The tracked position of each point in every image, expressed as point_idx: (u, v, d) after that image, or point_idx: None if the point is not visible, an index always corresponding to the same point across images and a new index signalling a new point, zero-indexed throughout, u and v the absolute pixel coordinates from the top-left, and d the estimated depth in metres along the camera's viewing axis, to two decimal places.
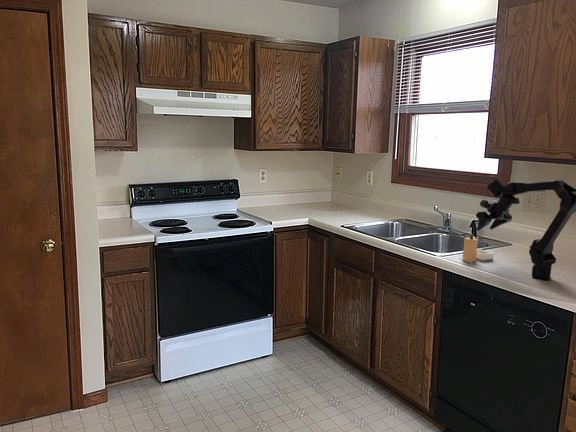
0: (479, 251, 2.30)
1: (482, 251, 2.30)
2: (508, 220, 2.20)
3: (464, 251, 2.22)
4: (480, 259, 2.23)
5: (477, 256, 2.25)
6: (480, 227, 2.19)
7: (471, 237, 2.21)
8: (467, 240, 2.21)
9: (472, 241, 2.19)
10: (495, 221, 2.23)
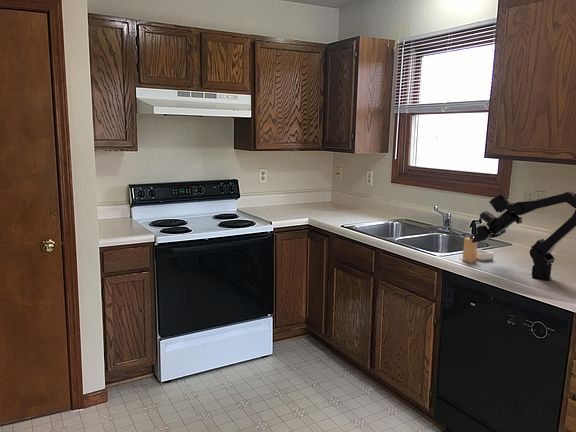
0: (479, 251, 2.30)
1: (482, 251, 2.30)
2: (502, 234, 2.18)
3: (464, 251, 2.22)
4: (480, 259, 2.23)
5: (477, 256, 2.25)
6: (477, 240, 2.14)
7: (471, 237, 2.21)
8: (467, 240, 2.21)
9: None
10: None
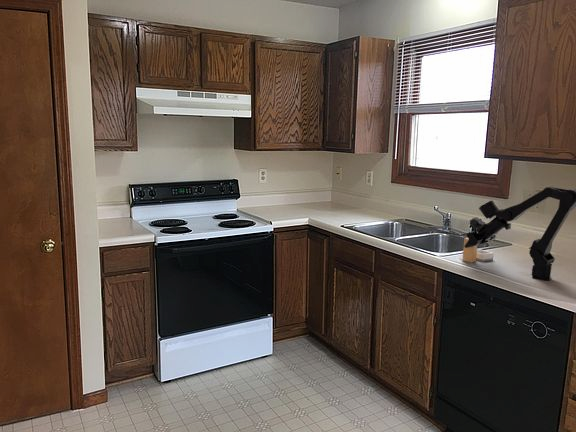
0: (479, 251, 2.30)
1: (482, 251, 2.30)
2: (492, 239, 2.22)
3: (464, 251, 2.22)
4: (480, 259, 2.23)
5: (477, 256, 2.25)
6: (469, 245, 2.19)
7: None
8: (467, 240, 2.21)
9: None
10: None
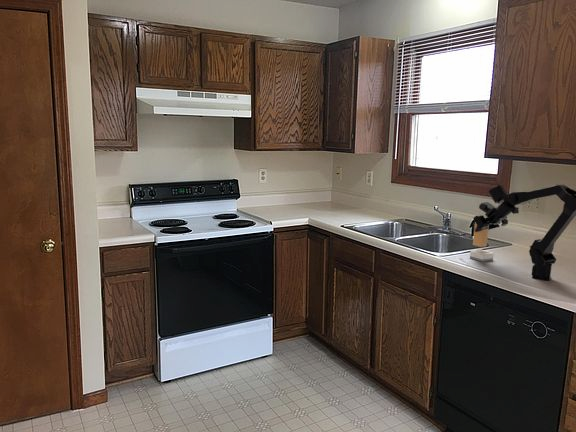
0: (479, 251, 2.30)
1: (482, 251, 2.30)
2: (504, 225, 2.21)
3: (474, 235, 2.25)
4: (480, 259, 2.23)
5: (477, 256, 2.25)
6: (478, 229, 2.21)
7: None
8: None
9: None
10: (488, 224, 2.24)
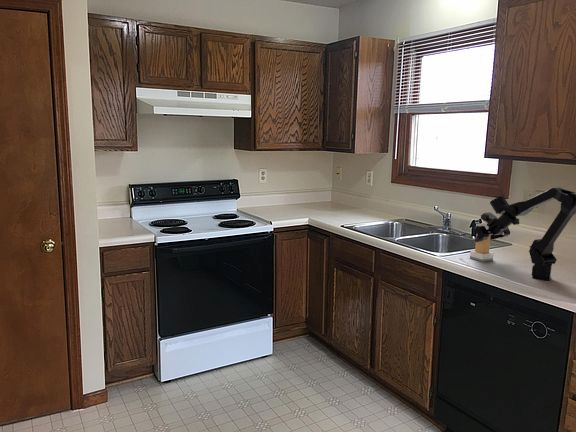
0: None
1: None
2: (506, 235, 2.22)
3: (476, 247, 2.27)
4: (480, 259, 2.23)
5: (477, 256, 2.25)
6: (478, 239, 2.22)
7: None
8: None
9: None
10: (491, 234, 2.26)
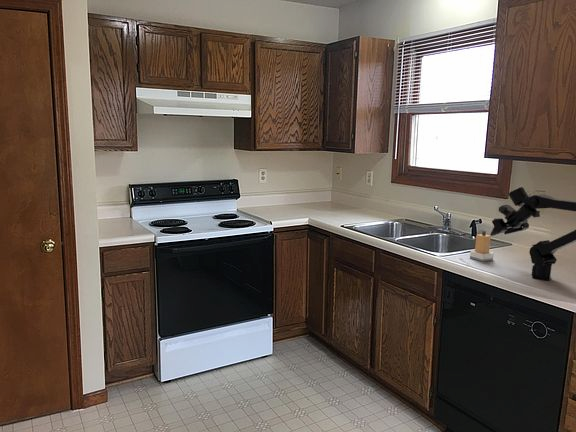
0: None
1: None
2: (524, 228, 2.14)
3: (476, 247, 2.27)
4: (480, 259, 2.23)
5: (477, 256, 2.25)
6: (494, 233, 2.13)
7: (483, 233, 2.24)
8: (479, 236, 2.25)
9: (483, 237, 2.23)
10: (511, 227, 2.17)
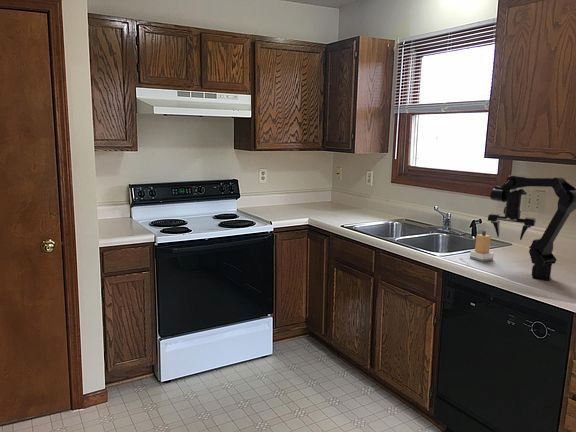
0: None
1: None
2: (528, 223, 2.05)
3: (476, 247, 2.27)
4: (480, 259, 2.23)
5: (477, 256, 2.25)
6: None
7: (483, 233, 2.24)
8: (479, 236, 2.25)
9: (483, 237, 2.23)
10: None
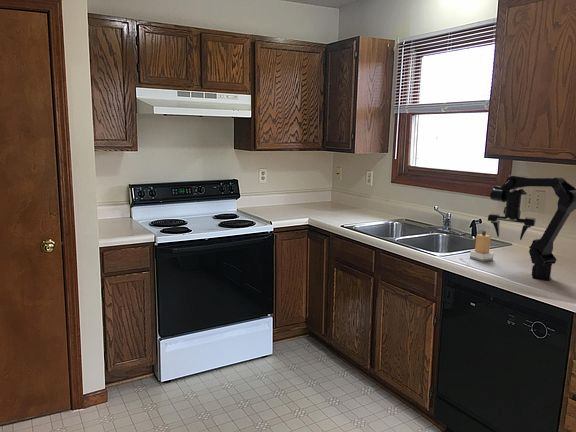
0: None
1: None
2: (528, 223, 2.05)
3: (476, 247, 2.27)
4: (480, 259, 2.23)
5: (477, 256, 2.25)
6: None
7: (483, 233, 2.24)
8: (479, 236, 2.25)
9: (483, 237, 2.23)
10: None
